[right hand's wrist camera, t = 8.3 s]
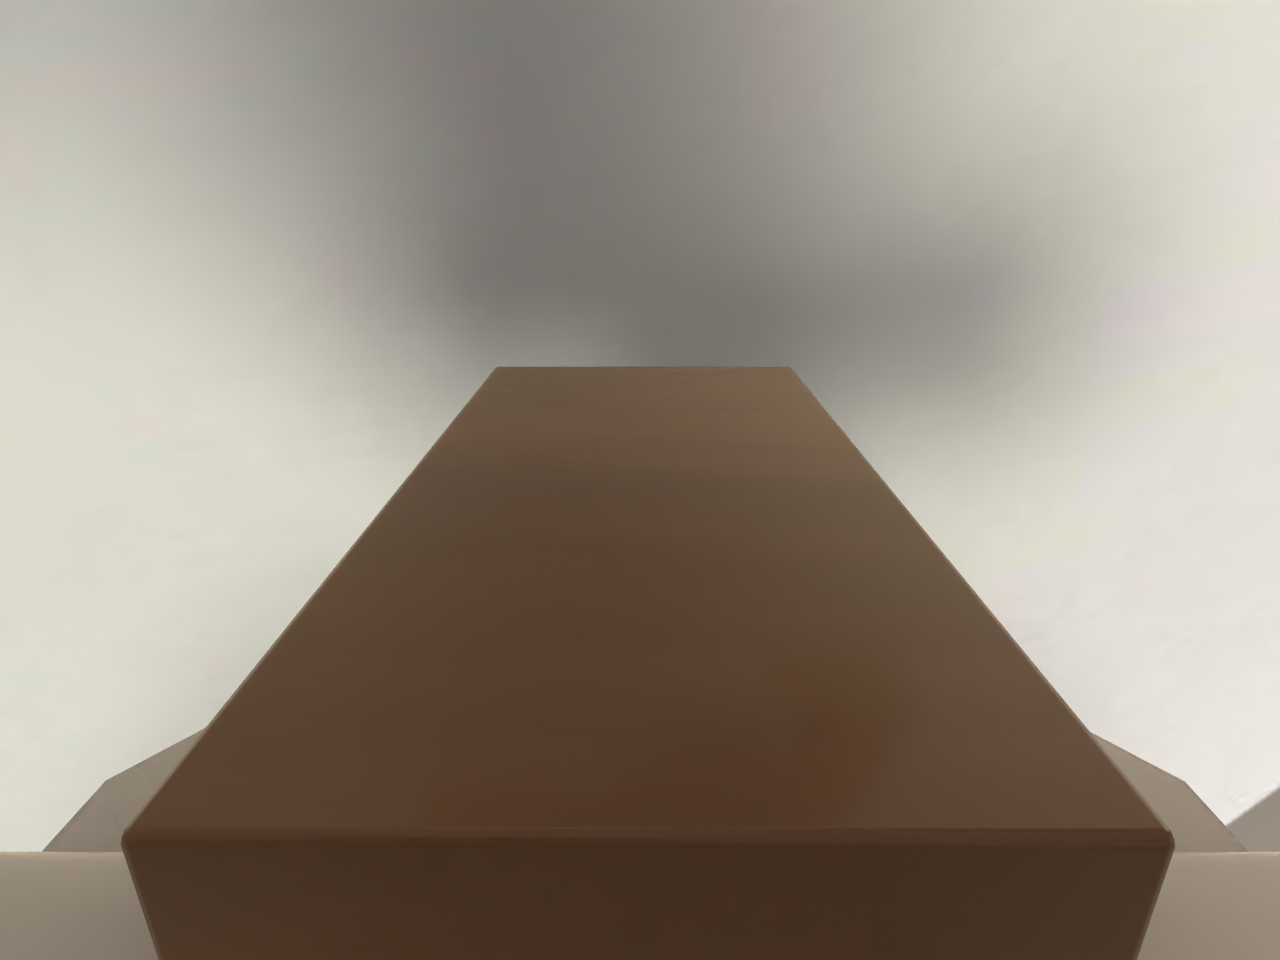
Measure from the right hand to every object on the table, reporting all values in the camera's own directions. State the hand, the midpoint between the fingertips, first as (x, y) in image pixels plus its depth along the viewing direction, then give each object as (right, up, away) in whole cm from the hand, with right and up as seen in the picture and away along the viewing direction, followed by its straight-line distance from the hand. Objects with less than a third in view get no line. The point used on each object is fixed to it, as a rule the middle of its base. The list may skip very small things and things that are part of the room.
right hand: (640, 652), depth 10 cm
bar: (0, -8, +6) cm, 9 cm away
